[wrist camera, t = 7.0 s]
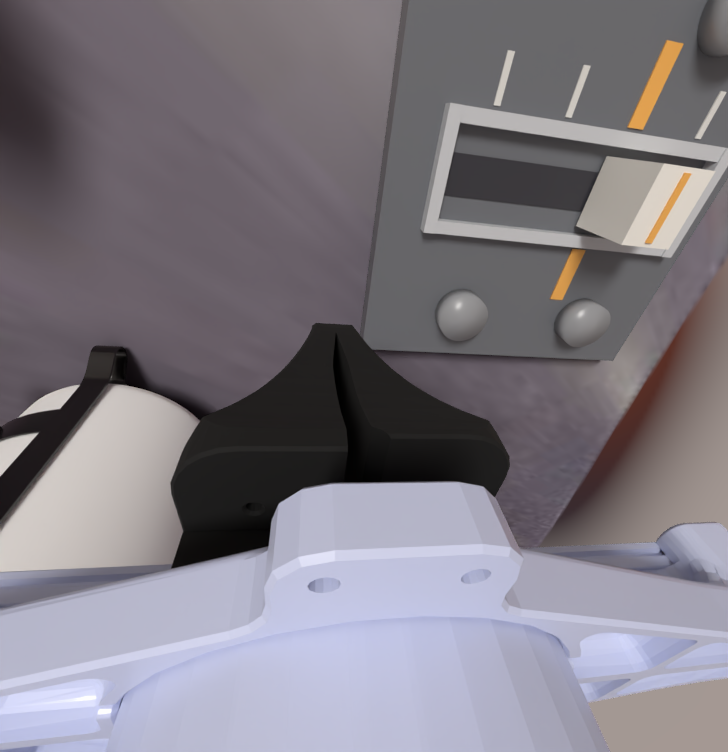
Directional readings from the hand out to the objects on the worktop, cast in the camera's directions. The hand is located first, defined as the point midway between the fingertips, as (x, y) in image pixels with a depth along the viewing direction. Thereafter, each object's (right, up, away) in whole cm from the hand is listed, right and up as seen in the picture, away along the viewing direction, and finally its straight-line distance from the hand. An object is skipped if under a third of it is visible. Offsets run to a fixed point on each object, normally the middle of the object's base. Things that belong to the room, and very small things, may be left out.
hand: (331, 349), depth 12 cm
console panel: (+11, +9, +7) cm, 16 cm away
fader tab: (+14, +8, +6) cm, 17 cm away
